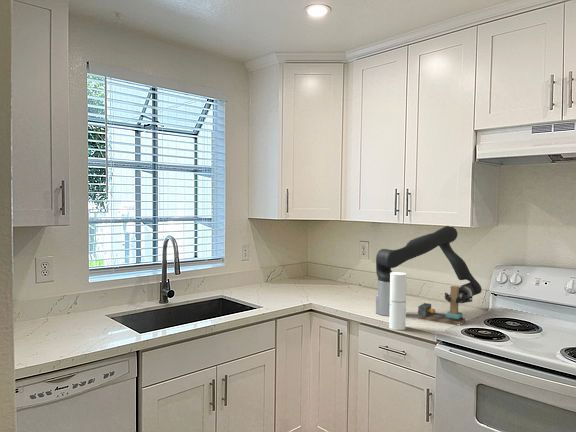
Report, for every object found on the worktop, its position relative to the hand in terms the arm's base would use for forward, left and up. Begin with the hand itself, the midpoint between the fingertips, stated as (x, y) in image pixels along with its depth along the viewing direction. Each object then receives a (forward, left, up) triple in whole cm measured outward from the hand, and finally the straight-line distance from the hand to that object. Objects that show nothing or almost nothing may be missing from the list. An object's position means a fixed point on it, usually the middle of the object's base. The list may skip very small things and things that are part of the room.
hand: (452, 300), depth 203 cm
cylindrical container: (-18, -23, -11) cm, 31 cm away
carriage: (0, +3, -8) cm, 9 cm away
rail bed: (-6, +3, -11) cm, 13 cm away
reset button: (-11, +3, -9) cm, 14 cm away
